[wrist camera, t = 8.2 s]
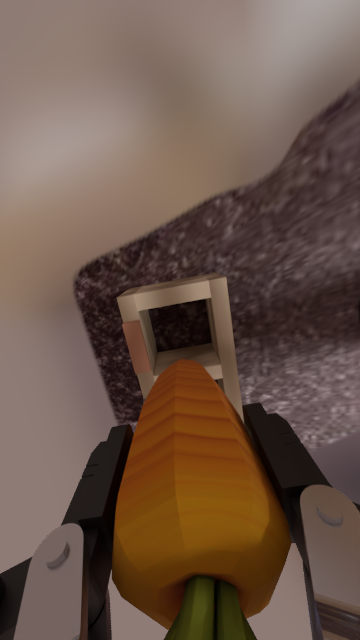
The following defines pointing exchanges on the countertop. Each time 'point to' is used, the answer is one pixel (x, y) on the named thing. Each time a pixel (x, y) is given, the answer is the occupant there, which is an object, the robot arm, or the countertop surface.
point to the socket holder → (211, 356)
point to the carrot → (196, 513)
